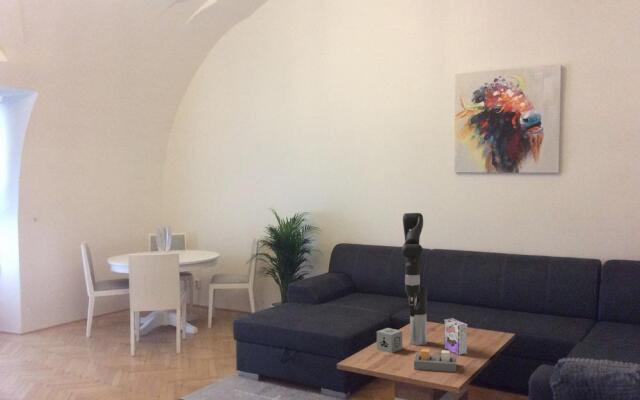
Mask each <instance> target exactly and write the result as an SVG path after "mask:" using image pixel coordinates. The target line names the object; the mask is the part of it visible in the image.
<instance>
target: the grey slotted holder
mask: <svg viewBox="0 0 640 400" xmlns="http://www.w3.org/2000/svg"><path fill="white" fill-rule="evenodd" d="M413 368H414V369H413V370H417V371H418V370H419V371H421V370H422V371H433V372H447V373H449V372H450V373H456V371H457V356H455V355H451V351H449V350H447V349H442V350H441V352H440V355H439V354H436V355H435V354H430V360H421V353H416V355H415V358H414V361H413Z"/></svg>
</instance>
